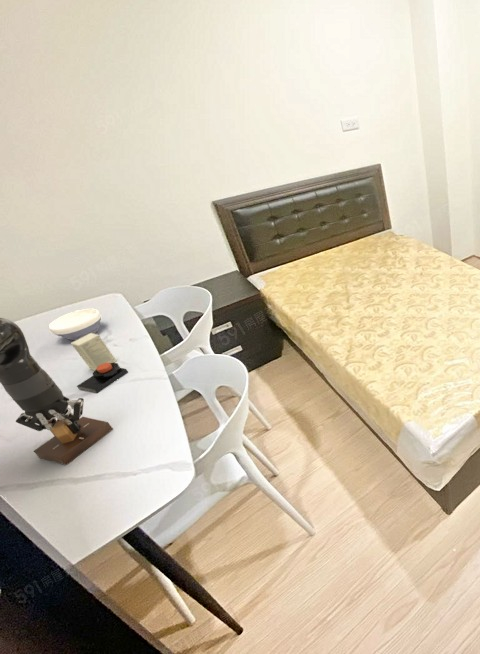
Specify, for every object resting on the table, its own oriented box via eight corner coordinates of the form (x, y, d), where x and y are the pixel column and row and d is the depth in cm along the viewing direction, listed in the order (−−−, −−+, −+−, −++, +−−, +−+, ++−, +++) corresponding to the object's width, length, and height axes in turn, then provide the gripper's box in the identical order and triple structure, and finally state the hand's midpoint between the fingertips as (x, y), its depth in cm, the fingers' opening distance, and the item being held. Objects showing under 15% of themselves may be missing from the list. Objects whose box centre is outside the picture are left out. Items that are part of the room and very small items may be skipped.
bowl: (98, 320, 167) (88, 305, 163) (115, 328, 161) (105, 313, 158) (52, 339, 156) (41, 324, 152) (69, 349, 150) (57, 333, 146)
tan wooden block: (73, 440, 109) (61, 426, 107) (62, 443, 109) (49, 429, 106) (80, 428, 113) (69, 414, 110) (69, 431, 112) (58, 417, 109)
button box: (97, 393, 129) (91, 385, 128) (79, 389, 131) (73, 382, 129) (129, 371, 138) (124, 364, 136) (112, 368, 140) (106, 361, 138)
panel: (66, 465, 106) (59, 457, 105) (39, 458, 108) (32, 450, 107) (113, 429, 116) (107, 421, 115) (88, 423, 118) (82, 416, 117)
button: (104, 374, 133) (101, 370, 132) (96, 372, 133) (93, 369, 133) (115, 367, 136) (112, 363, 135) (107, 365, 136) (105, 361, 136)
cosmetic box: (110, 358, 145) (91, 331, 139) (117, 361, 143) (99, 334, 137) (89, 369, 140) (69, 342, 134) (97, 372, 138) (77, 345, 132)
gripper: (-14, 407, 97) (30, 453, 105) (60, 388, 102) (96, 434, 110) (4, 387, 103) (44, 432, 111) (73, 370, 107) (106, 415, 116)
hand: (70, 433), depth 111 cm, fingers closed on tan wooden block, 2 cm apart
